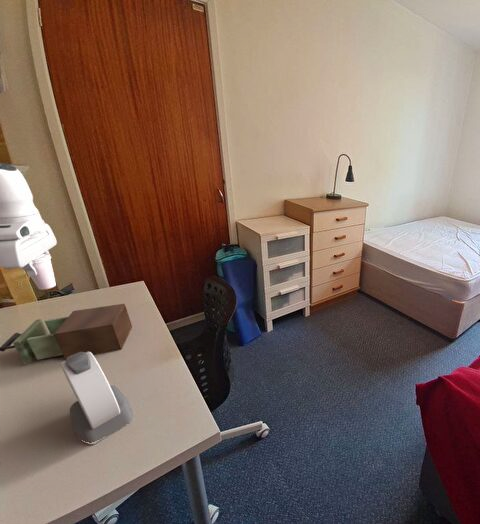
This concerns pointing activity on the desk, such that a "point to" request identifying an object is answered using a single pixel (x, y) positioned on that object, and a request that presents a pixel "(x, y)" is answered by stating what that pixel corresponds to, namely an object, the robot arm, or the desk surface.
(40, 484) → the desk surface
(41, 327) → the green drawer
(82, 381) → the headphone stand
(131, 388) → the desk surface
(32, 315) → the desk surface
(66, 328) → the cabinet
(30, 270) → the robot arm
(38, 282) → the smoothie
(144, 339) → the desk surface
